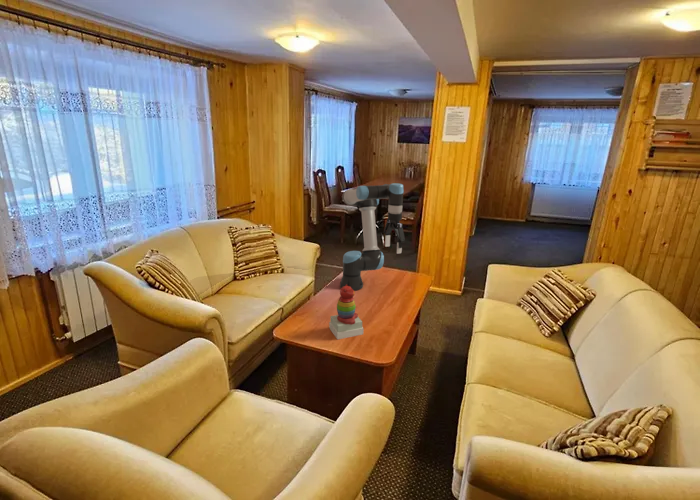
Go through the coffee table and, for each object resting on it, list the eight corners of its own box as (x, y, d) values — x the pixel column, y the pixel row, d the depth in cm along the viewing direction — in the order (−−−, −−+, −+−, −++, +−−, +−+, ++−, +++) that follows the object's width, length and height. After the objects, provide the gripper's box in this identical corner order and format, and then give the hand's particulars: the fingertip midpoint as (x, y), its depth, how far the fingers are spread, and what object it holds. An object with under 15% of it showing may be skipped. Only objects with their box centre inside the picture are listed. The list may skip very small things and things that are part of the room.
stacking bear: (354, 325, 184) (355, 291, 179) (334, 322, 186) (334, 289, 181) (358, 315, 194) (359, 283, 189) (339, 313, 196) (339, 281, 191)
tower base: (329, 328, 195) (329, 315, 193) (354, 323, 200) (354, 311, 198) (337, 339, 185) (337, 326, 183) (363, 334, 190) (363, 321, 188)
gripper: (413, 216, 195) (410, 255, 201) (390, 207, 217) (388, 243, 223) (400, 217, 192) (398, 257, 198) (378, 208, 214) (377, 244, 220)
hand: (393, 249), depth 211 cm, fingers open, 13 cm apart
